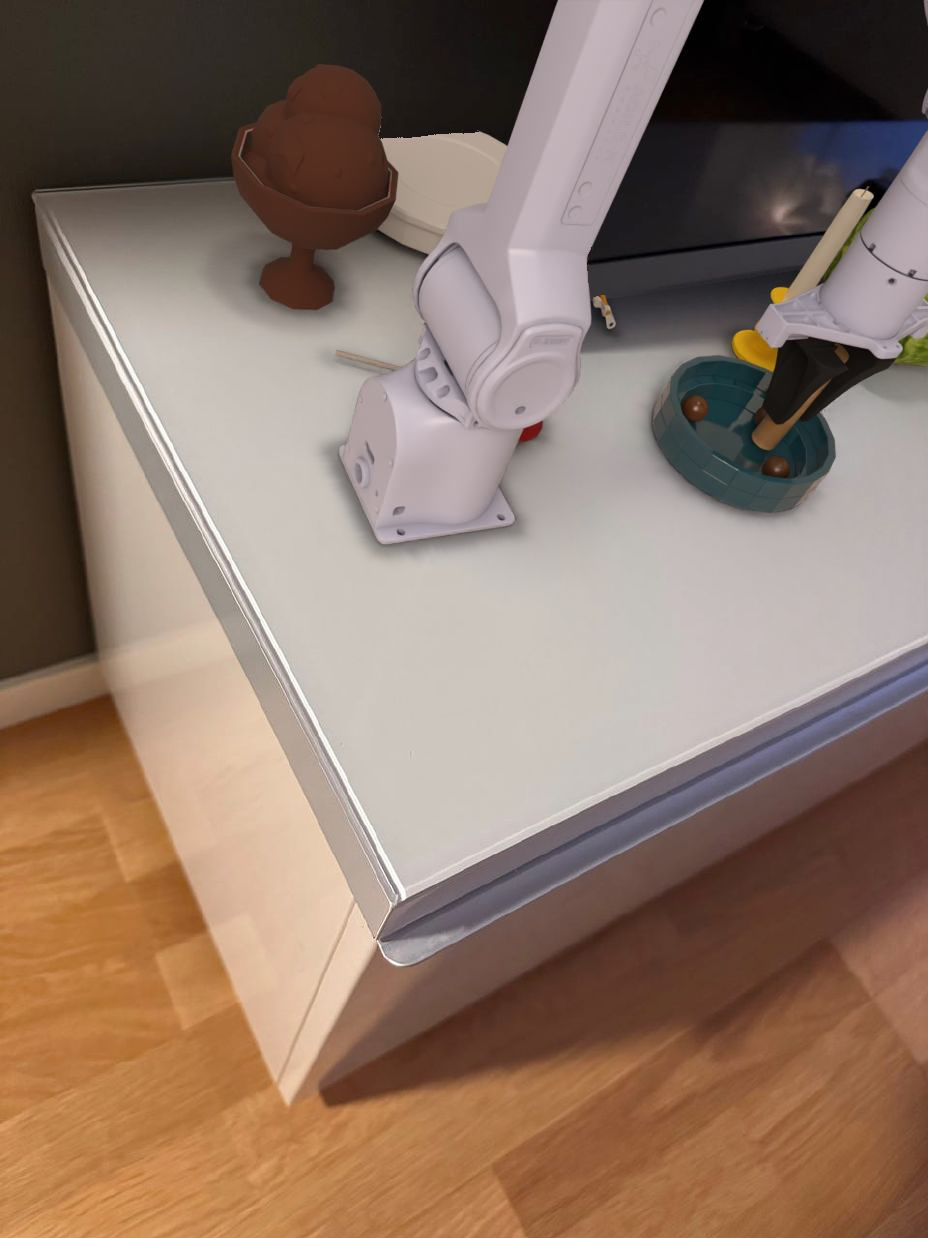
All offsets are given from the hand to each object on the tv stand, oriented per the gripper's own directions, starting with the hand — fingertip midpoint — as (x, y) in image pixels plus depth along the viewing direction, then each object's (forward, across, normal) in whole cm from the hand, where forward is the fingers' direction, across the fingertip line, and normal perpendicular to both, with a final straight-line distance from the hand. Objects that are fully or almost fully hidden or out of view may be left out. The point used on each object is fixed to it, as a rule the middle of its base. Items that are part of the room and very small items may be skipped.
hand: (784, 413), depth 70 cm
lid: (+4, -13, +31) cm, 34 cm away
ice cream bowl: (+4, -30, +21) cm, 37 cm away
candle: (+4, +8, +11) cm, 14 cm away
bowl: (+4, -2, 0) cm, 5 cm away
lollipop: (+4, -23, +10) cm, 25 cm away
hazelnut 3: (+3, -1, -3) cm, 4 cm away
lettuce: (-2, +27, +18) cm, 33 cm away
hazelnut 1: (+3, -4, +4) cm, 6 cm away
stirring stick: (+3, 0, 0) cm, 3 cm away
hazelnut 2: (+3, +2, +2) cm, 4 cm away
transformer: (+2, -2, +23) cm, 24 cm away
